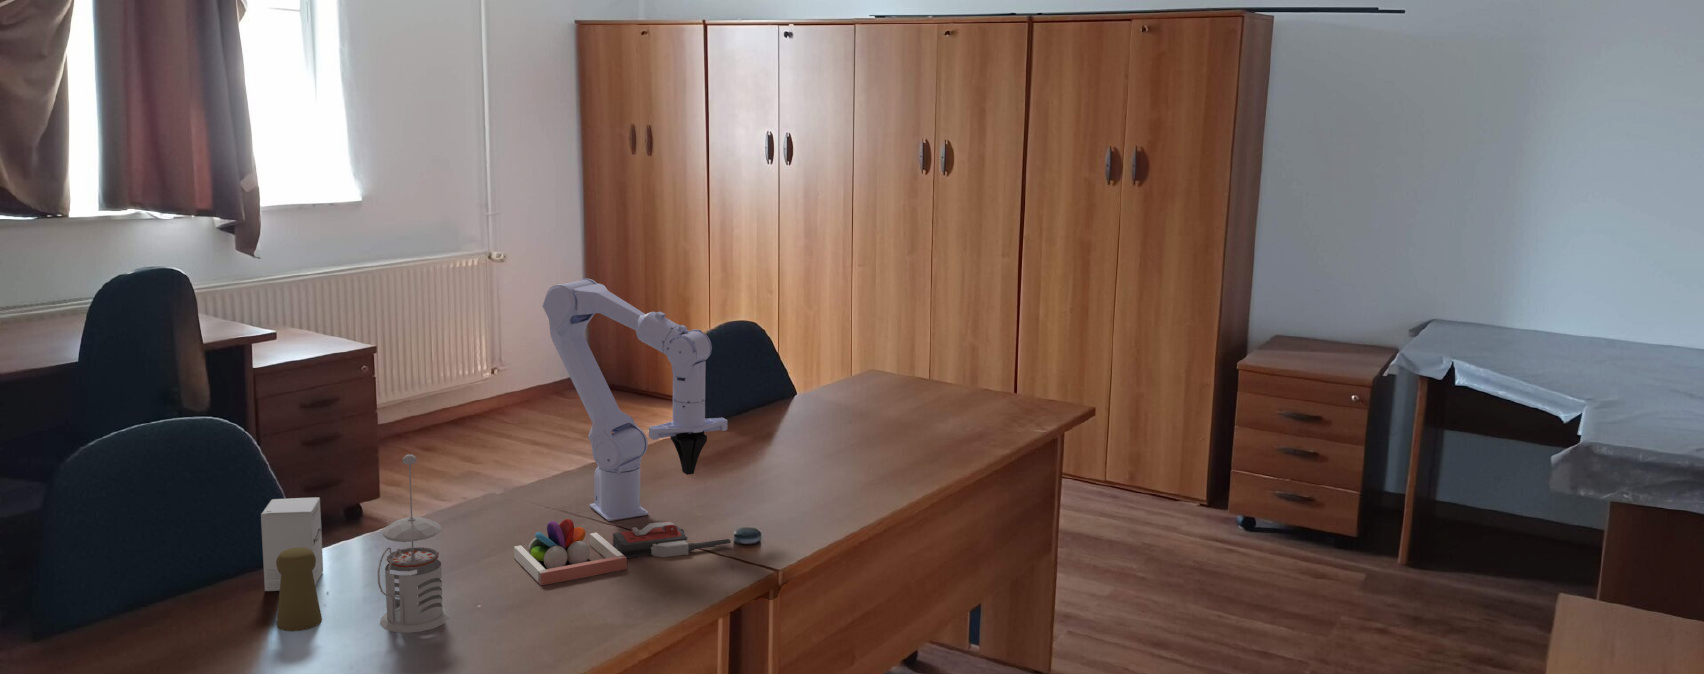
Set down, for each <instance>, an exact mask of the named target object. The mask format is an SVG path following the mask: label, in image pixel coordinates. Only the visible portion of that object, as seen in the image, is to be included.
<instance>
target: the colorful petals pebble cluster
mask: <svg viewBox="0 0 1704 674" xmlns="http://www.w3.org/2000/svg"><path fill="white" fill-rule="evenodd" d="M546 532H547V536H546V535H545V534H544V533H542V532H540V531H537V532H536V533H535V535H534V537H535V538H533V539H532V540H531V541H530V543H528V544H529V545H528V551H527V552H528V553H529V554H530V555H531V556H533V557H534V558H535V559H536V560H537V561H538V562H539V561H540V562H543V565H544V567H546V569H551V568H556V567H562V566H566V564H567V562H568V563H569V564H570V565H573V564H578V563H584V562H587V560H588V559H589V557H590V553H591V552H590V547H589V545H588V543H586V542H585V541H583V540H584V539H585V537H586V530H585V528H584V527H581V526H577V527H575V524H574V521H573V520H572V519H570V518H565V519H562V521H561V522H560V523H558V522H557V521H554V520H551V521H549V522H548V523H547V526H546Z"/></svg>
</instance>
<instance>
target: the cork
mask: <svg viewBox="0 0 1704 674" xmlns="http://www.w3.org/2000/svg"><path fill="white" fill-rule="evenodd" d="M315 564H316V557H315V554H314V553H313V551H312V550H310V549H308V548H304V547H296V548H290V549H287V550H284V551H283V552H281V553H280V554H279V556H278V557H277V560H276V566H277V569H278V572H279V573H280V574H281V581H280V591H279V592H278V593H279V594H278V604H277V616H276V627H277V629H279V630H280V631H281V630H282V631H287V632H299V631H300V632H301V631H304V630H306V631H307V630H309V629H312V628H314V627H316V626H318V625H319V624H321V623H322V621H323V616H322V613H321V612H322V611H321V608H320V603H319V598H318V593H317V588H316V586H315V582H314V577H313V572H312V570H313V569H314V567H315Z"/></svg>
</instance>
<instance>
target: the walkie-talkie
mask: <svg viewBox="0 0 1704 674" xmlns="http://www.w3.org/2000/svg"><path fill="white" fill-rule="evenodd" d="M612 536H613V537H612V546H613V547H614V548H616V549H617V550H618V551H619V552H621V553H622V554H623V555H624V556H625V557H627V558H637V557H644V556H650V555H651V556H653V557H661V558H670V557H678V556H687V555H688V556H689V552H690V551H691V552H692V551H695V550H700V549H708V548H709V549H710V548H715V547H716V546H720V545H726V544H731V543H732V542H731V539H729V538H724V539H716V540H709V541H702V542H695V543H694V542H687V541H688V539H689V538H688V537H689V536H688V535H687V534H686V533H685V532H684V529H683V528H680V527H679V526H678V525H676V524H675V523H673V522H672V521H670V520H669V521H662V522H653V523H652V522H651V523H648V524H647V525H646V526H644V527H643V528H642V529H638V527H637V526H636V527H632V528H631V530H626V531H619V532H614V533H612Z"/></svg>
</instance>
